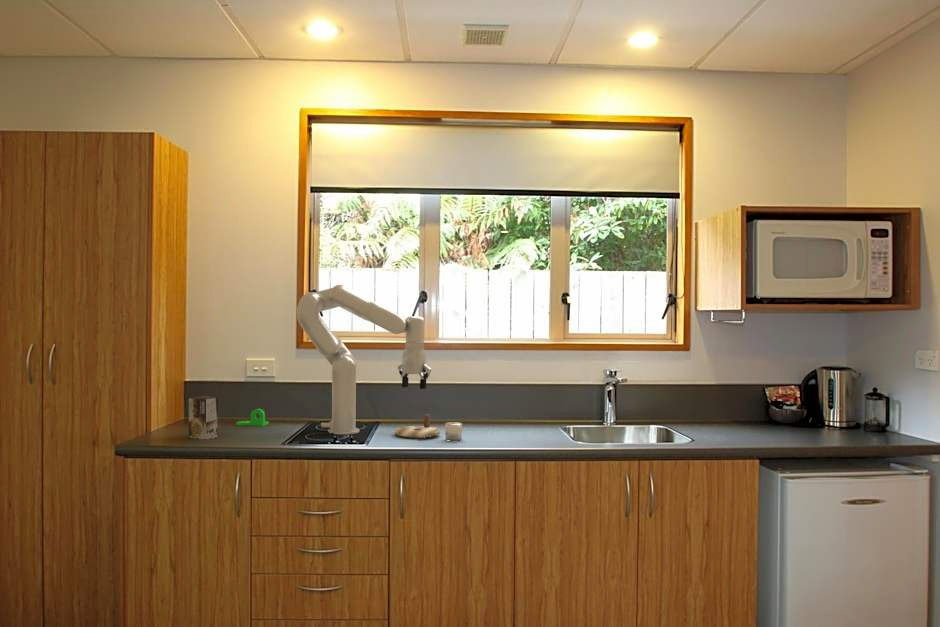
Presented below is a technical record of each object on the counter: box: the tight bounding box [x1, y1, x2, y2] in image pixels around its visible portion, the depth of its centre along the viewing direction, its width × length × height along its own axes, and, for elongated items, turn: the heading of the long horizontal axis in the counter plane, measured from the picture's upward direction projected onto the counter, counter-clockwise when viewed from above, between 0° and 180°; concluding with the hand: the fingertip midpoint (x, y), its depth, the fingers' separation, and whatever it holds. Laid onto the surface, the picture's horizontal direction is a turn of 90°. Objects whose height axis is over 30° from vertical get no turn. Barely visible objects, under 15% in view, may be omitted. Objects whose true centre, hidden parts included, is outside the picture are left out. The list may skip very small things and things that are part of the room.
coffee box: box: [188, 395, 219, 440], centre depth 274 cm, size 9×6×16 cm
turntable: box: [394, 413, 441, 438], centre depth 285 cm, size 18×18×6 cm
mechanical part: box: [235, 408, 270, 427], centre depth 306 cm, size 12×6×8 cm, turn 83°
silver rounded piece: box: [444, 421, 463, 442], centre depth 276 cm, size 6×6×7 cm
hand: (414, 387), depth 294 cm, fingers open, 9 cm apart
